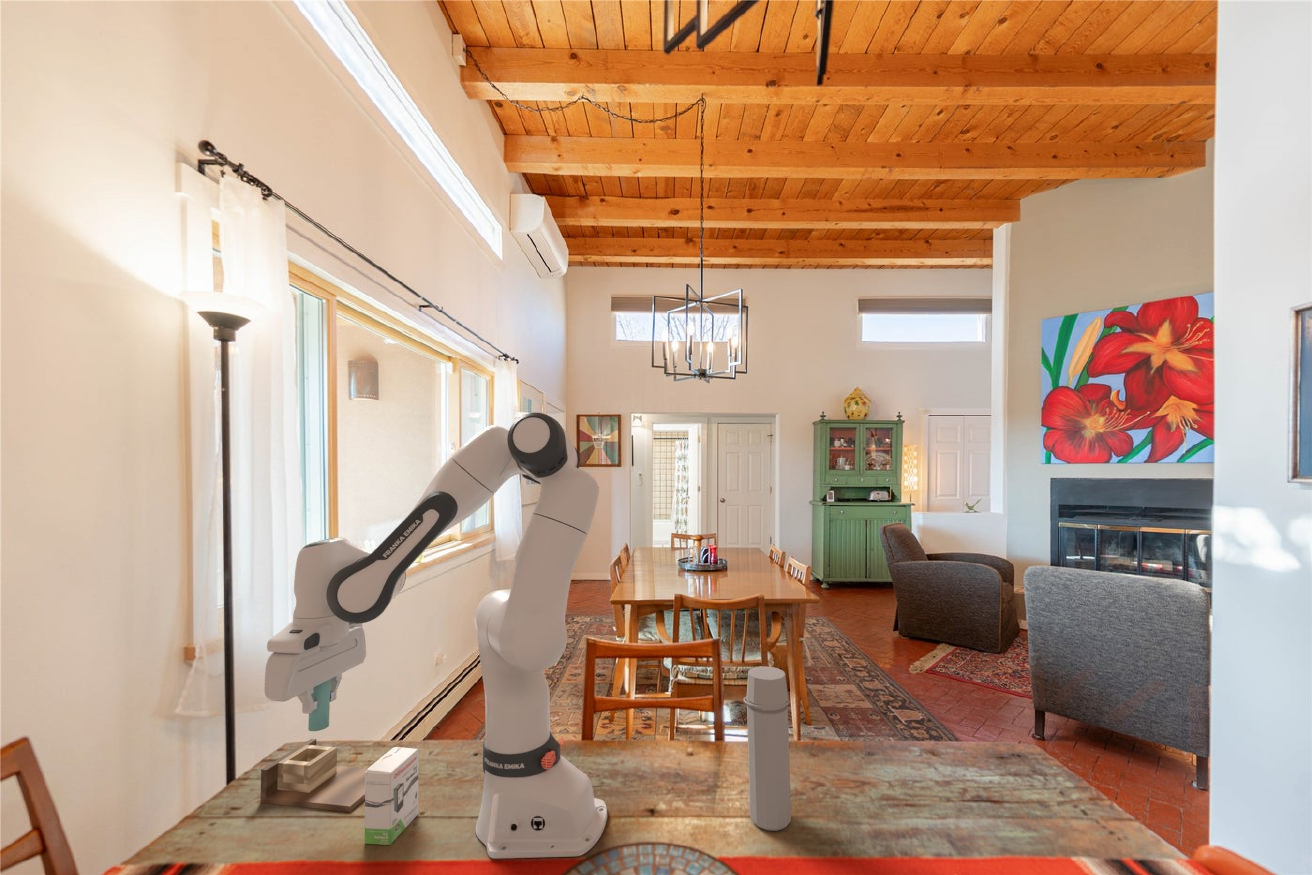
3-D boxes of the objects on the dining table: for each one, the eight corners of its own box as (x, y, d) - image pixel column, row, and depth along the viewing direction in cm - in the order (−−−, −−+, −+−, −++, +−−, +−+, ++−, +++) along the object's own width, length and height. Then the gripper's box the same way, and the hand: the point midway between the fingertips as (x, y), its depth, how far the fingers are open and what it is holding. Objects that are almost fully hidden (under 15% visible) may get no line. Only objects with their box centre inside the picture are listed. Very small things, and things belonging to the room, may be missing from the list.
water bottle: (800, 830, 93) (795, 678, 95) (755, 836, 92) (751, 682, 93) (779, 798, 102) (775, 660, 104) (738, 803, 101) (735, 663, 102)
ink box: (390, 846, 91) (390, 772, 92) (362, 844, 92) (363, 771, 93) (419, 814, 100) (419, 746, 100) (394, 812, 100) (394, 745, 101)
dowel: (333, 723, 101) (334, 667, 102) (319, 731, 98) (321, 673, 99) (317, 722, 102) (319, 666, 102) (304, 730, 99) (305, 672, 99)
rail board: (392, 775, 112) (392, 745, 113) (350, 811, 101) (350, 777, 101) (311, 768, 116) (311, 738, 116) (260, 802, 104) (261, 769, 104)
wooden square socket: (336, 772, 112) (337, 747, 112) (309, 792, 105) (309, 765, 105) (306, 769, 113) (306, 744, 114) (277, 789, 106) (277, 762, 107)
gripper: (347, 613, 112) (345, 683, 111) (258, 645, 92) (255, 731, 91) (375, 614, 111) (374, 685, 110) (291, 646, 91) (289, 733, 90)
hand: (319, 706), depth 100 cm, fingers closed on dowel, 3 cm apart
